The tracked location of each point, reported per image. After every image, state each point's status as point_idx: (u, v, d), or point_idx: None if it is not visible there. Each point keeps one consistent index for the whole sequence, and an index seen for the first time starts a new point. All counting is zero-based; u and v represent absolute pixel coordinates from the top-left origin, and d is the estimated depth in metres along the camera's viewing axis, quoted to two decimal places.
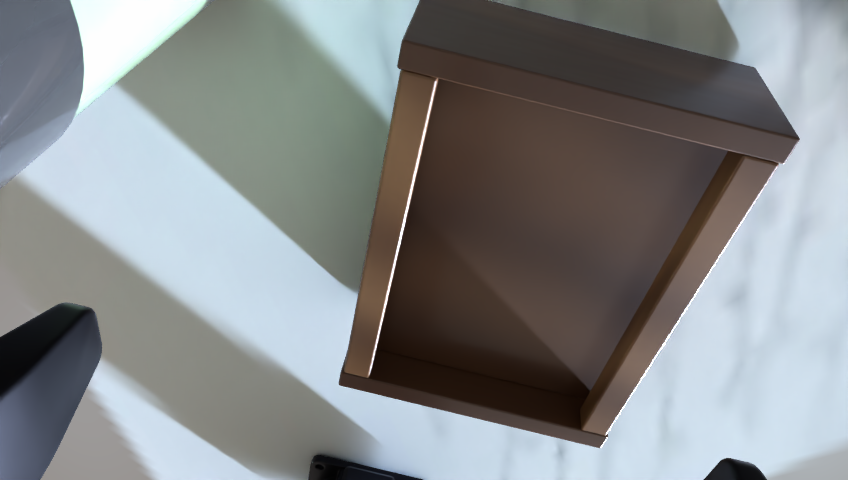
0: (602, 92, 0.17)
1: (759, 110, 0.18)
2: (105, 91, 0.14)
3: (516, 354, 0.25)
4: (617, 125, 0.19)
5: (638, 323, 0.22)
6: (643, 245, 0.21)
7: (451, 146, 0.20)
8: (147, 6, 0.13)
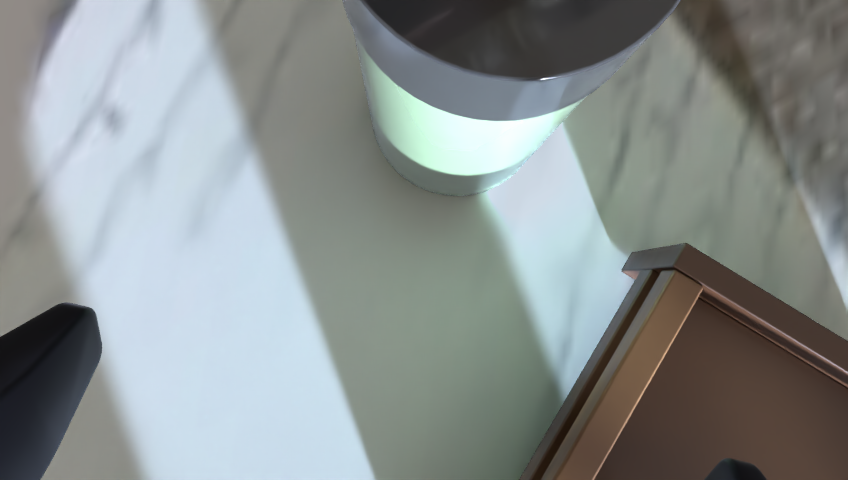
0: (843, 342, 0.19)
1: None
2: (531, 131, 0.14)
3: None
4: (820, 399, 0.20)
5: None
6: None
7: (662, 378, 0.20)
8: None
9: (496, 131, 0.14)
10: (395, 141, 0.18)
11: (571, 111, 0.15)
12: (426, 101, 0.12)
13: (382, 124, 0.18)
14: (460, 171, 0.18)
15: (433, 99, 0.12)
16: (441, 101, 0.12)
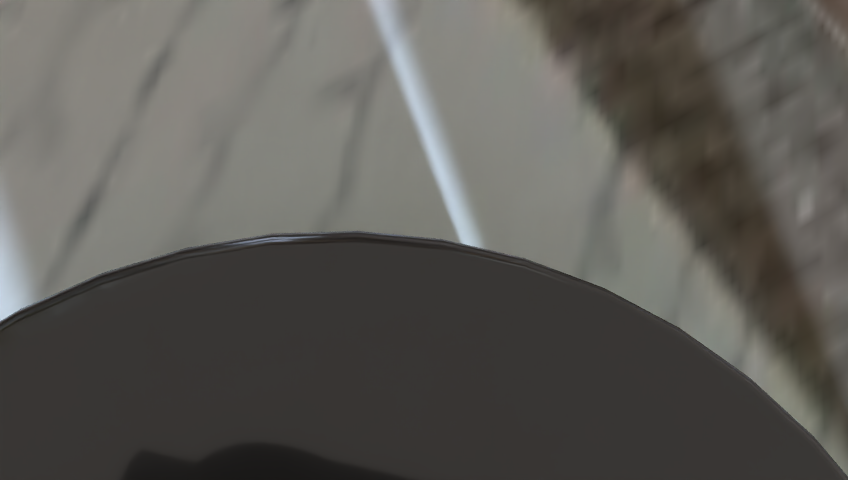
0: None
1: None
2: None
3: None
4: None
5: None
6: None
7: None
8: None
9: None
10: None
11: None
12: None
13: None
14: None
15: None
16: None
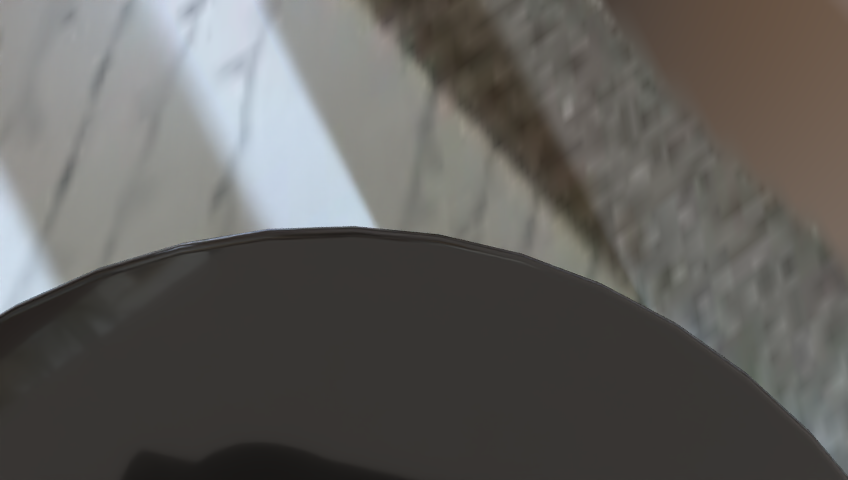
0: None
1: None
2: None
3: None
4: None
5: None
6: None
7: None
8: None
9: None
10: None
11: None
12: None
13: None
14: None
15: None
16: None
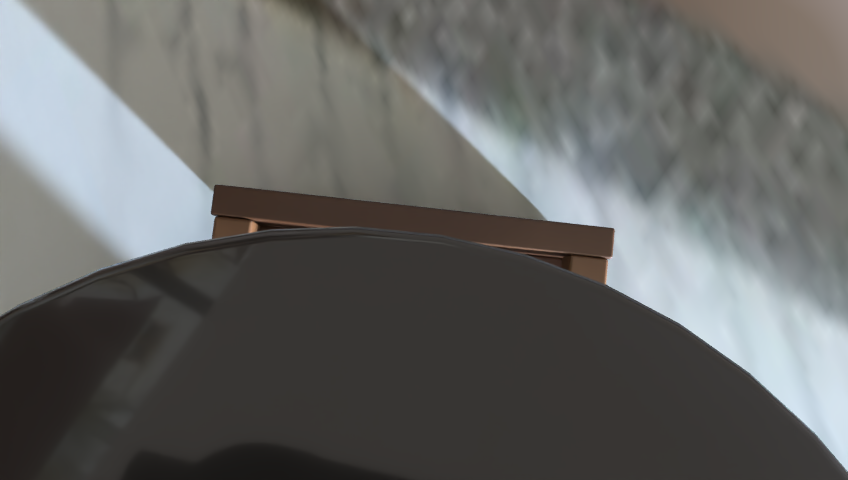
0: (416, 210, 0.17)
1: None
2: None
3: None
4: None
5: None
6: None
7: None
8: None
9: None
10: None
11: None
12: None
13: None
14: None
15: None
16: None
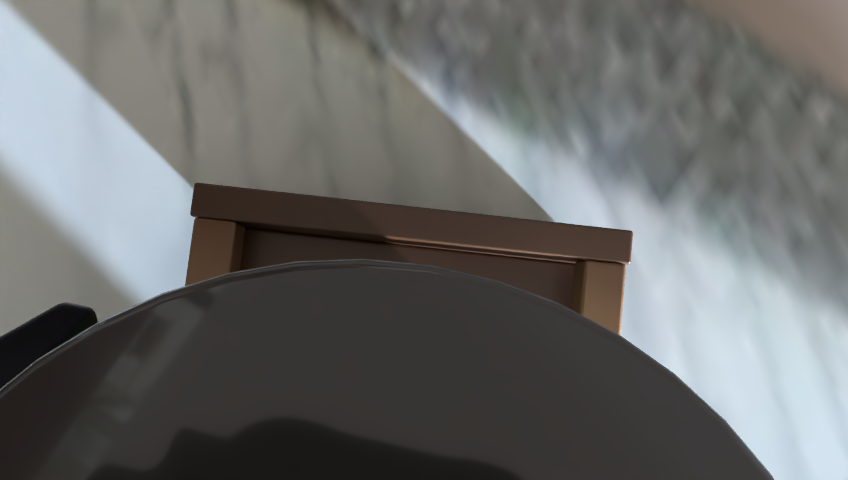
0: (416, 210, 0.16)
1: None
2: None
3: None
4: None
5: None
6: None
7: None
8: None
9: None
10: None
11: None
12: None
13: None
14: None
15: None
16: None
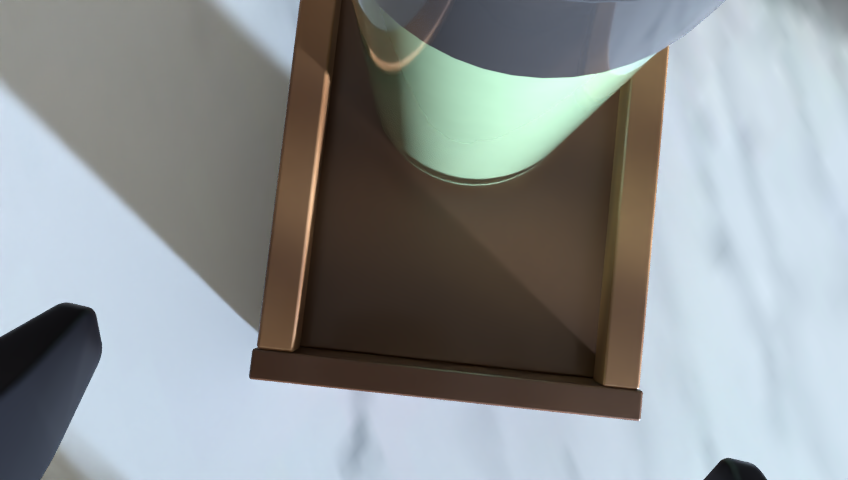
0: None
1: None
2: (585, 97, 0.11)
3: (489, 311, 0.19)
4: None
5: (617, 179, 0.18)
6: None
7: None
8: None
9: (539, 96, 0.10)
10: (400, 116, 0.15)
11: (636, 71, 0.11)
12: (443, 49, 0.09)
13: (384, 94, 0.14)
14: (482, 154, 0.15)
15: (454, 44, 0.08)
16: (466, 47, 0.08)
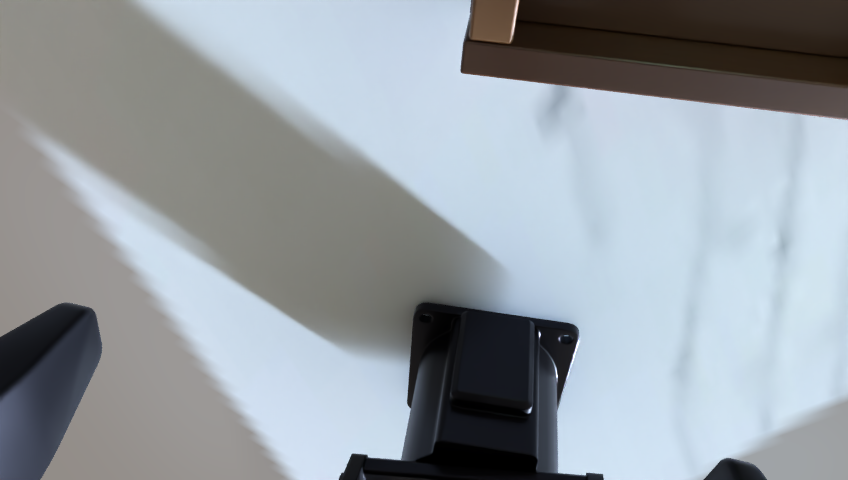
0: None
1: None
2: None
3: None
4: None
5: None
6: None
7: None
8: None
9: None
10: None
11: None
12: None
13: None
14: None
15: None
16: None
